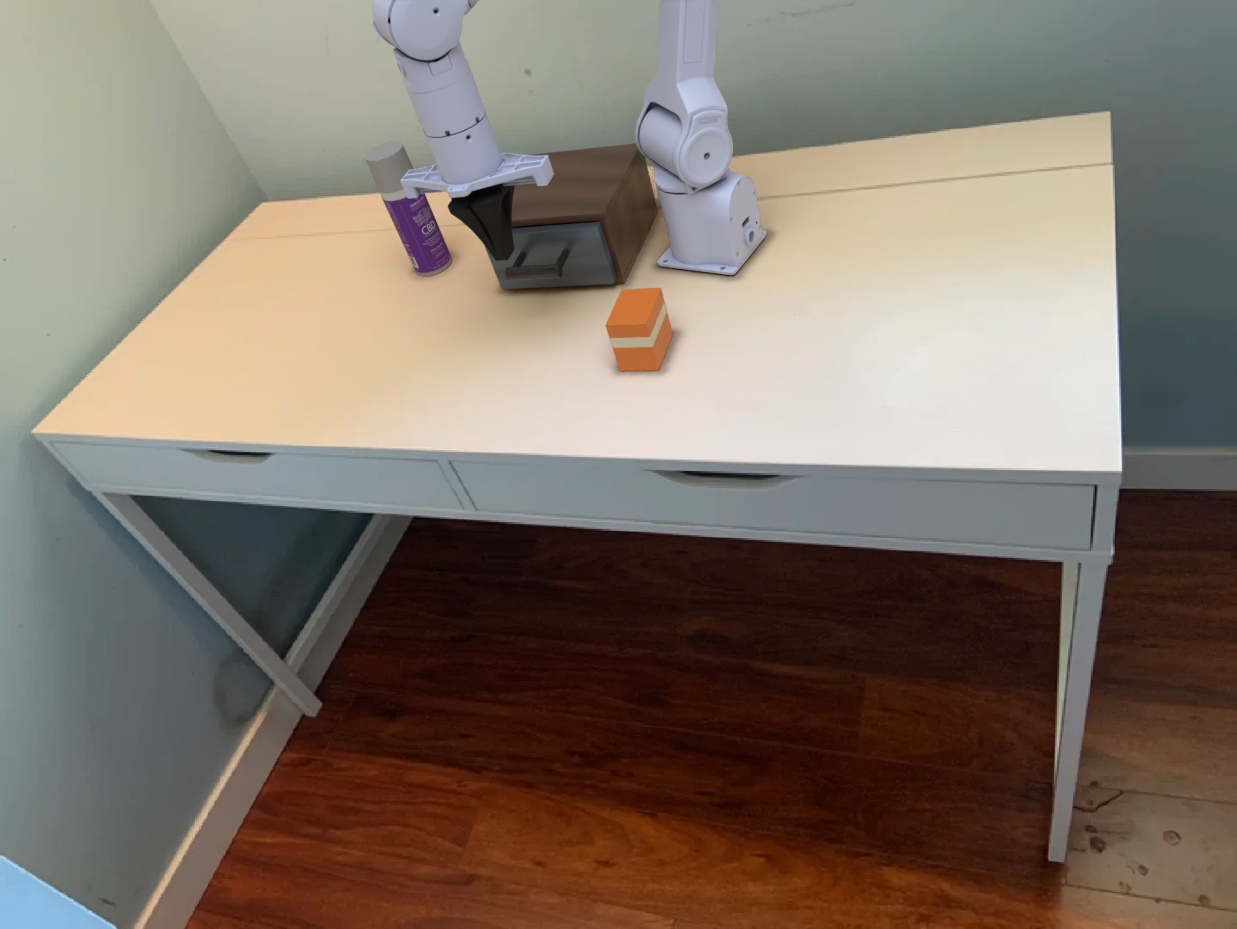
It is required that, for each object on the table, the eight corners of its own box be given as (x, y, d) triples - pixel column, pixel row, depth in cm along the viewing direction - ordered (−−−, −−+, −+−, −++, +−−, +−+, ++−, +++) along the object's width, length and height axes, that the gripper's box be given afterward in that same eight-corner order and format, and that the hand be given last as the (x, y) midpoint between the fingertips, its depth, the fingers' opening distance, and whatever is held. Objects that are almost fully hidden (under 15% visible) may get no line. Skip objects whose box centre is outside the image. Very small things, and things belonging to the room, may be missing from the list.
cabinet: (624, 284, 102) (603, 212, 97) (503, 290, 108) (476, 223, 102) (658, 211, 112) (641, 142, 106) (545, 220, 117) (523, 155, 112)
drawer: (602, 307, 98) (584, 250, 94) (487, 312, 103) (465, 258, 99) (646, 215, 110) (632, 160, 106) (541, 223, 115) (523, 171, 110)
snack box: (659, 370, 90) (646, 323, 86) (619, 371, 92) (604, 325, 88) (673, 333, 94) (661, 287, 90) (634, 335, 95) (621, 288, 92)
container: (445, 274, 114) (395, 157, 104) (410, 278, 115) (357, 163, 105) (457, 252, 117) (409, 137, 107) (423, 256, 118) (372, 143, 108)
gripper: (365, 152, 84) (423, 282, 93) (512, 135, 79) (560, 274, 88) (399, 114, 89) (452, 241, 97) (541, 95, 83) (583, 232, 92)
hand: (505, 254), depth 93 cm, fingers closed
